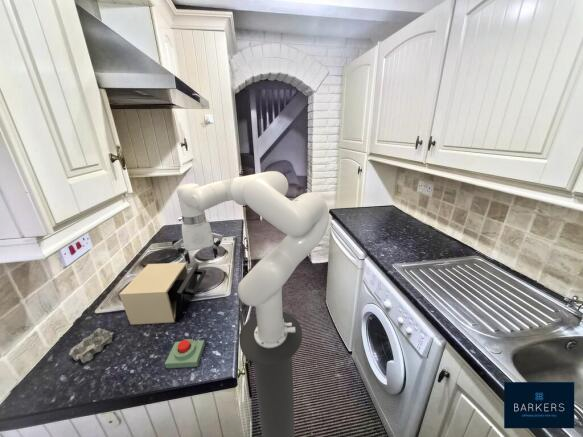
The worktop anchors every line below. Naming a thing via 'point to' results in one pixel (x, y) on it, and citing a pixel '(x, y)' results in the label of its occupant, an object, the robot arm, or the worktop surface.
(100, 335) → the egg carton
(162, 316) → the oven
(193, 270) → the oven door
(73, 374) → the worktop surface
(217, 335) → the worktop surface
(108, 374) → the worktop surface
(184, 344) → the button
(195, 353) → the control block
